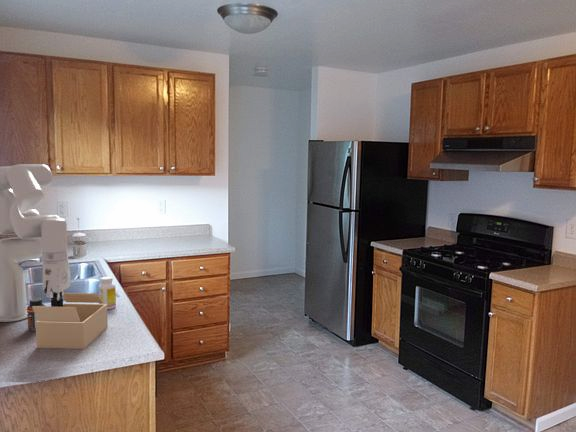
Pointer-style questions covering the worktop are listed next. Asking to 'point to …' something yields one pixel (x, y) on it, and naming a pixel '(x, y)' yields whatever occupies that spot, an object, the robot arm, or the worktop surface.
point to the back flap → (82, 297)
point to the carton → (73, 328)
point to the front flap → (56, 313)
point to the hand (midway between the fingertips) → (57, 310)
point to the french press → (79, 246)
